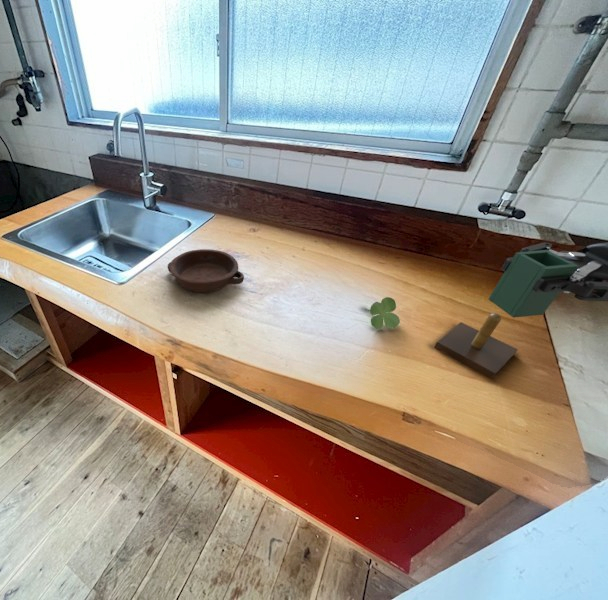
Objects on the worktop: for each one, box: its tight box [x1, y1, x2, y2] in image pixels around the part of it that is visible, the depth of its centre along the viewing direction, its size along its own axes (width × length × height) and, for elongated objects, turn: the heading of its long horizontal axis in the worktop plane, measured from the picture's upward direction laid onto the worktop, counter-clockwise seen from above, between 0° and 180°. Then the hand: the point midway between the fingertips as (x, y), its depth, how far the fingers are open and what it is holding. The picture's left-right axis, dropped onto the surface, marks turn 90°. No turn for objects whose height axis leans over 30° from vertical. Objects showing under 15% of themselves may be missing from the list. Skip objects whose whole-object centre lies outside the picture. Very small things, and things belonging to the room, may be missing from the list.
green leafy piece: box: [364, 296, 401, 330], centre depth 72 cm, size 7×8×7 cm
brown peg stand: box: [433, 312, 519, 379], centre depth 61 cm, size 10×10×9 cm
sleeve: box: [488, 250, 579, 319], centre depth 50 cm, size 5×5×9 cm
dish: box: [167, 248, 245, 293], centre depth 86 cm, size 18×22×5 cm
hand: (521, 274), depth 49 cm, fingers closed on sleeve, 5 cm apart
